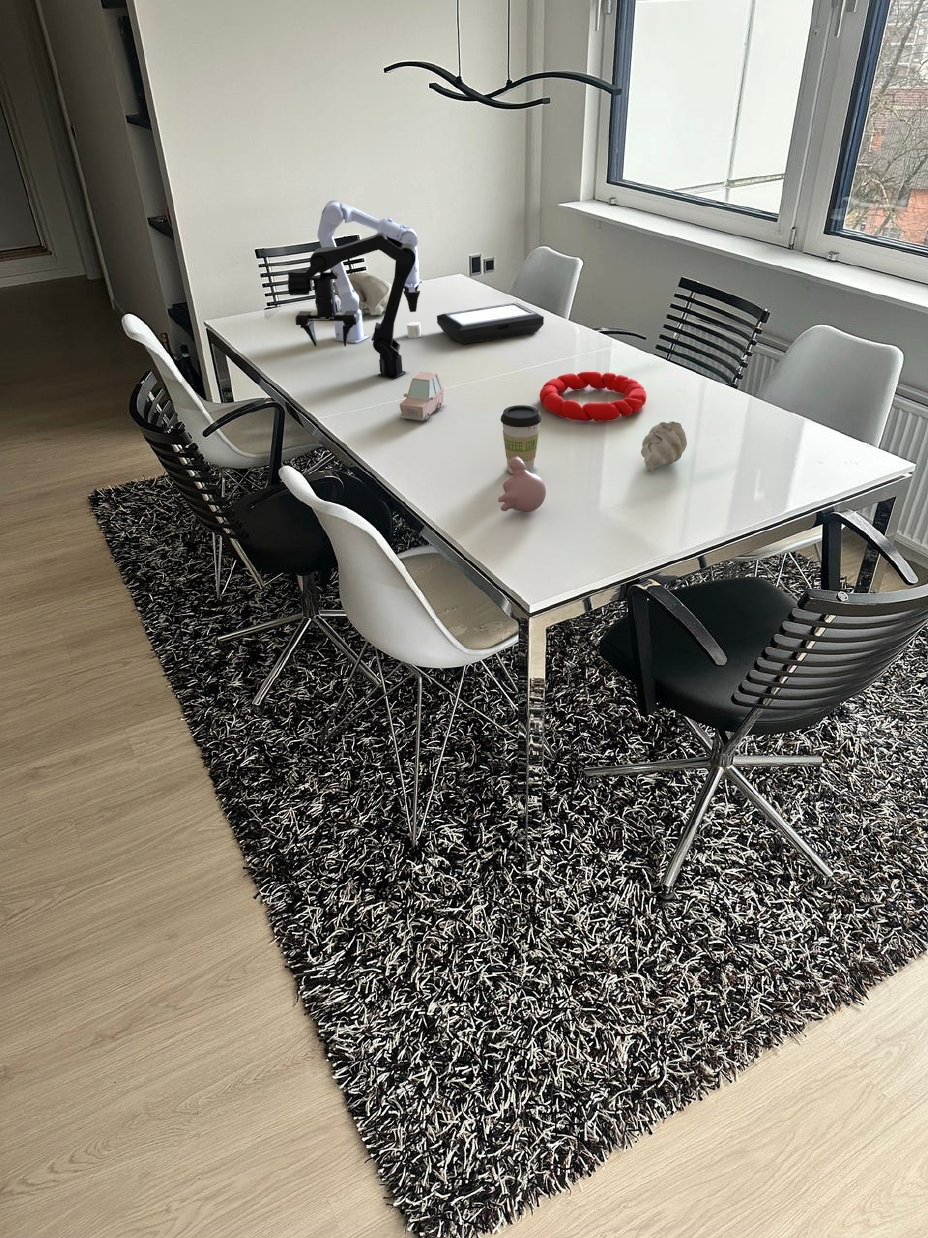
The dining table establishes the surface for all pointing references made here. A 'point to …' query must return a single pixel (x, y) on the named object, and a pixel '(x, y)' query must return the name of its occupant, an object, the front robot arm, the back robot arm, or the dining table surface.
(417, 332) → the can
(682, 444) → the seashell
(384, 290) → the animal skull
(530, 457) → the coffee cup
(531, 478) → the figurine
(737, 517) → the dining table surface
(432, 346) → the dining table surface
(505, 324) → the electronic device
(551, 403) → the decorative ring
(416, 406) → the toy car
